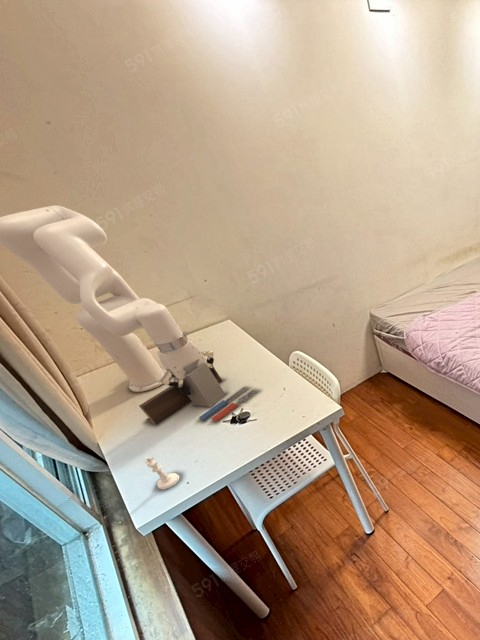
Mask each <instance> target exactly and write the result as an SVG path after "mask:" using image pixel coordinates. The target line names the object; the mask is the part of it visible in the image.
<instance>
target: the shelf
mask: <svg viewBox="0 0 480 640" xmlns="http://www.w3.org/2000/svg"><path fill="white" fill-rule="evenodd" d="M213 369H214V371H215V372H216V376H217V378H216V380H217V381H218V383H219V384H220V383H221V382H223V380H222V377H221V376H220V375H219V373H218V371H217V370H216V368H215V367H214V366H213ZM191 403H193V402H192V401H191V400H190V398H189V397H188V395H186V394H182V393H181V392H180V391H179V390H178V388H177V387H174V386H168V387H167V388H165V389H163V390H162V391H160V392H159V393H157V394H156V395H154V396H152V397H150V398H148V399H147V400H146V401H144V402H143V403H141V404H139V405H138V407H139V408H140V409H141V411H142V412H143V413H144V414H145V415H146V416H147V418H146V419H145V421H146V422H148V423H150V424H153V425H156V426H157V425H159V424H161V423H162V422H163V421H165V420H167V419H168V418H169V417H171V416H172V415H174V414H175V413H177V412H178V411H180V410H181V409H183V408H184V407H186V406H187V405H189V404H191Z"/></svg>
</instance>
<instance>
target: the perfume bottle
mask: <svg viewBox="0 0 480 640" xmlns="http://www.w3.org/2000/svg"><path fill="white" fill-rule="evenodd" d="M198 362H199V359H198V360H197V361H195V362H193V363H192V364H190V365H188V366H187V367H185V368H183V369H184V370H185V371H186V372H187V374H186V375H185V377H186V378H184V380H183V385H185V386H186V387H187V389H188V390H189V391H190V393H191V395H188V397H189V398H190V400H191V401H192V402H191V403H192V404H193V406H200V407H207V408H212V407H213V406H215V404H216V403H217V402H218V401H220V400H221V399H222V398H223V397H225V396H226V392H225V391H224V388H223V387H222V386H221V384H220V383H218V381H217V380H216V378H215V377H214V375H213V373H212V372H211V370H210V369H209V367H208V366H207V364H206V363H203V364H202V365H200V366H199V367H197V365H198Z"/></svg>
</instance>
